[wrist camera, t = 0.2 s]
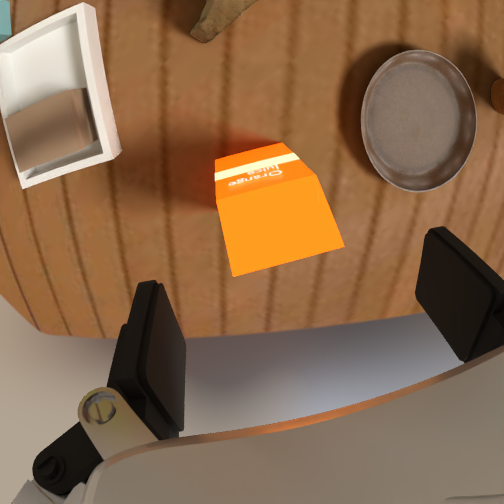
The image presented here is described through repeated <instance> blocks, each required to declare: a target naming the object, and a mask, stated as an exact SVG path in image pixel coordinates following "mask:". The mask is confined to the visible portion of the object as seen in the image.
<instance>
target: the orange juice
mask: <svg viewBox="0 0 504 504" xmlns="http://www.w3.org/2000/svg"><path fill="white" fill-rule="evenodd" d="M215 182H216V204H217V207H218V210H219V215H220V220H221V224H222V229H223V234H224V238H225V243H226V247H227V252H228V256H229V261H230V265H231V270H232V274H233V277H234V276H238V275H242V274H245V273H249V272H253V271H257V270H261V269H264V268H268V267H272V266H275V265H279V264H283V263H287V262H290V261H294V260H298V259H301V258H305V257H309V256H312V255H316V254H319V253H323V252H327V251H330V250H334V249H338V248H341V247H345V246H344V244H343V241H342V238H341V236H340V233H339V231H338V228H337V225H336V223H335V220H334V218H333V215H332V213H331V210H330V208H329V205H328V203H327V200H326V198H325V196H324V193H323V191H322V188H321V186H320V184H319V181H318V179H317V176H316V175H315V174H314V173H313V172H312V171H311V170H310V169H309V168H308V167H307V166H306V165H305V164H304V163H303V162H302V161H301V160H300V159H299V158H298V157H297V156H296V155H295V154H294V153H292V152H291V151H290V150H289V149H288V148H287V147H286V146H285V145H284V144H283V143H278V144H274V145H270V146H266V147H262V148H258V149H254V150H250V151H246V152H242V153H238V154H235V155H231V156H227V157H224V158H220V159H217V160H215Z"/></svg>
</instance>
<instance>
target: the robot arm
mask: <svg viewBox="0 0 504 504" xmlns="http://www.w3.org/2000/svg"><path fill="white" fill-rule="evenodd" d="M415 295H416V299H417V301H418V302H419V303H420V305H421V306H422V307H423V309H424V310H425V311H426V313H427V314H428V315H429V317H430V318H431V320H432V321H433V322H434V324H435V325H436V326H437V328H438V329H439V331H440V332H441V334H442V335H443V336H444V338H445V339H446V341H447V342H448V343H449V345H450V347H451V348H452V349H453V351H454V353H455V354H456V356H457V357H458V358H459V360H461V361H463V362H464V363H465V364H463V365H461V366H458V367H456V368H454V369H451V370H449V371H447V372H444V373H442V374H440V375H437V376H435V377H432V378H430V379H427V380H424V381H422V382H419V383H417V384H414V385H411V386H409V387H406V388H403V389H400V390H397V391H395V392H392V393H389V394H386V395H383V396H379V397H376V398H374V399H370V400H367V401H364V402H360V403H357V404H353V405H350V406H346V407H343V408H339V409H335V410H331V411H327V412H324V413H320V414H315V415H311V416H307V417H302V418H298V419H293V420H289V421H284V422H278V423H273V424H268V425H262V426H256V427H250V428H244V429H238V430H232V431H225V432H218V433H210V434H201V435H194V436H187V437H179V431H183V430H184V397H185V364H186V343H185V340H184V337H183V334H182V332H181V330H180V327H179V325H178V322H177V320H176V317H175V314H174V312H173V309H172V307H171V304H170V302H169V299H168V296H167V294H166V291H165V288H164V286H163V284H162V283H159V284H158V283H157V281H156V280H151V281H145V282H140V283H138V286H137V289H136V293H135V296H134V300H133V303H132V307H131V311H130V314H129V318H128V322H127V324H124V325H122V327H121V330H120V333H119V337H118V342H117V345H116V349H115V353H114V357H113V361H112V365H111V370H110V374H109V378H108V383H107V387H101V388H97V389H94V390H92V391H90V392H89V393H88V394H87V395H86V396H84V397H83V399H82V401H81V402H80V404H79V407H78V418H79V420H80V421H79V422H78V423H77V424H75V425H74V426H73V427H72V428H70V429H69V430H68V431H67V432H65V433H64V434H63V435H62V436H60V437H59V438H58V439H57V440H55V441H54V442H53V443H52V444H50V445H49V446H48V447H46V448H45V449H44V450H43V451H41V452H40V453H39V454H38V455H37V457H36V459H35V460H34V463H33V468H32V470H33V476H34V479H33V480H32V481H30V480H27V482H26V483H25V484H24V486H23V487H22V489H21V490H20V492H19V493H18V495H17V496H16V497H15V499H14V500H13V502H12V503H11V504H504V280H503V279H502V278H501V277H500V276H499V275H498V274H497V273H496V272H495V271H494V270H493V269H491V268H490V267H489V266H488V265H487V264H486V263H485V262H484V261H483V260H482V259H481V258H480V257H479V256H478V255H476V254H475V253H474V252H473V251H472V250H471V249H470V248H469V247H467V246H466V245H465V244H464V243H463V242H462V241H461V240H459V239H458V238H457V237H456V236H455V235H454V234H452V233H451V232H450V231H449V230H448V229H447V228H445V227H443V226H441V227H436V228H431V229H429V231H428V233H427V234H426V235H425V238H424V245H423V251H422V257H421V263H420V269H419V274H418V280H417V285H416V290H415Z"/></svg>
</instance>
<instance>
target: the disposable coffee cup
mask: <svg viewBox="0 0 504 504" xmlns="http://www.w3.org/2000/svg"><path fill="white" fill-rule="evenodd" d="M491 101H492V105H493V107H494V109H495V110H496V111H497V112H498V113H501V114H503V115H504V79H497V80H495V81H494V83H493V84H492V87H491Z"/></svg>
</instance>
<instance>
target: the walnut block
mask: <svg viewBox="0 0 504 504" xmlns="http://www.w3.org/2000/svg"><path fill="white" fill-rule="evenodd" d="M5 121H6V126H7V130H8V134H9V138H10V141H11V145H12V149H13V152H14V156H15V159H16V163H17V166H18V169H19V172H20V173H21V172H23V171H26V170H28V169H31V168H33V167H36V166H38V165H41V164H43V163H46V162H49V161H51V160H54V159H57V158H60V157H62V156H65V155H68V154H71V153H74V152H77V151H80V150H82V149H83V148H85V147H86V146H88V145H90V144H91V143H93V142H95V141H96V140H98V138H97V134H96V129H95V125H94V121H93V117H92V112H91V108H90V103H89V99H88V94H87V89H86V88H78V89H71V90H65V91H63V92H61V93H58V94H56V95H53V96H51V97H49V98H47V99H44V100H42V101H40V102H38V103H36V104H34V105H31V106H29V107H27V108H25V109H23V110H21V111H19V112H17V113H15V114H13V115H11V116H9V117H8V118H6V119H5Z"/></svg>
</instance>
